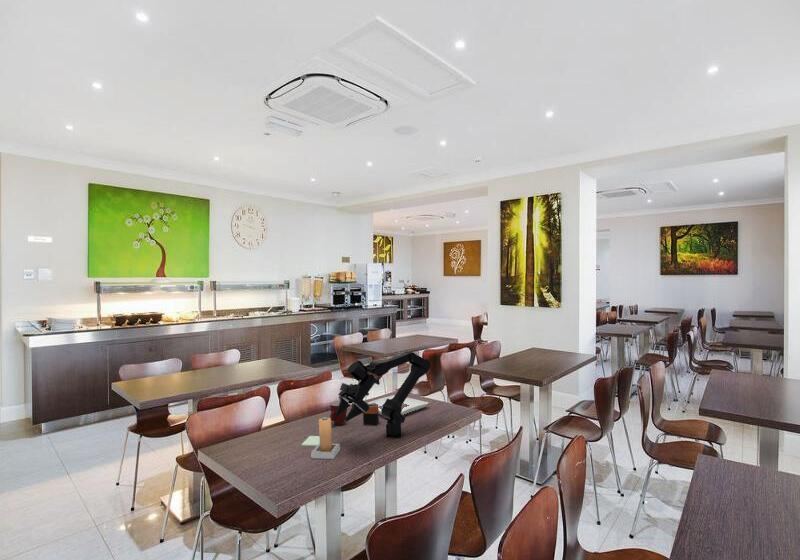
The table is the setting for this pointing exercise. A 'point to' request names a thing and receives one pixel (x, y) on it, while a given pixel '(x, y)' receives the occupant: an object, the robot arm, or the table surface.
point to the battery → (371, 415)
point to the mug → (337, 419)
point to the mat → (311, 441)
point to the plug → (325, 434)
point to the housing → (325, 452)
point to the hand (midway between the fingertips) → (340, 417)
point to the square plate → (412, 403)
